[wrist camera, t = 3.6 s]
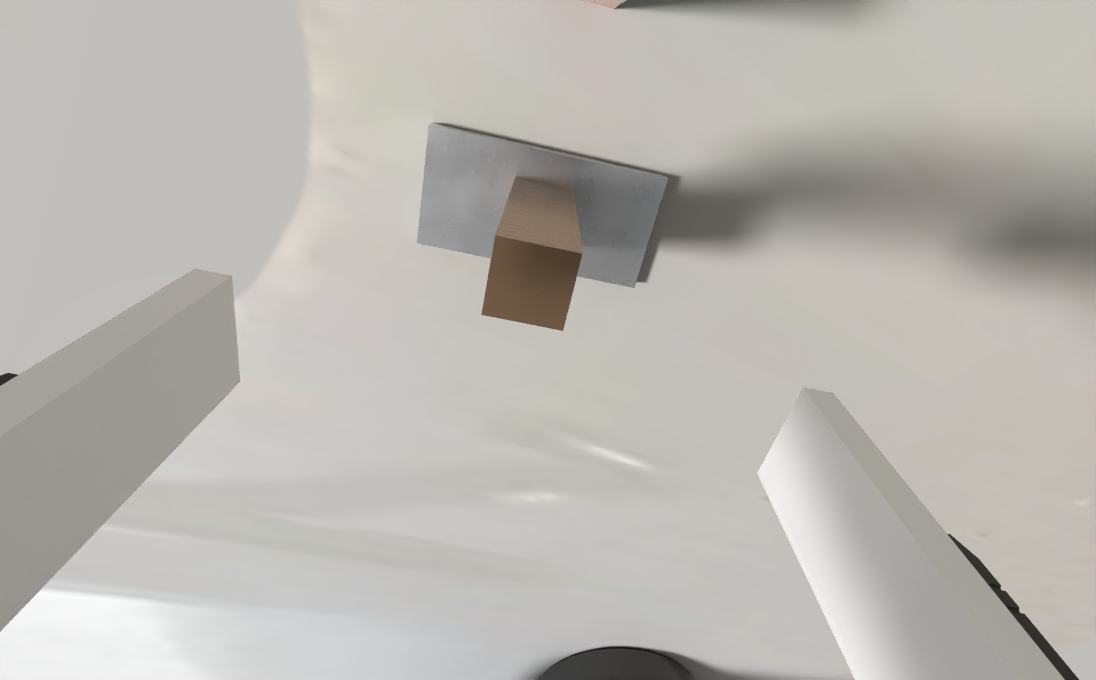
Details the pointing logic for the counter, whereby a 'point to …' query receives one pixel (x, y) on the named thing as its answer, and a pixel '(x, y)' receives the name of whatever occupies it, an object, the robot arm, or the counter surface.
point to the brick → (607, 2)
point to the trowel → (535, 219)
